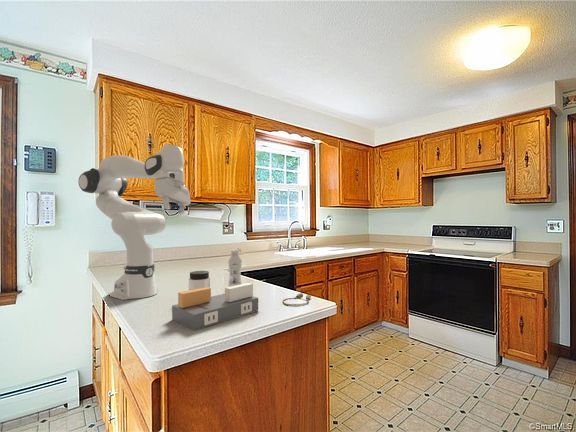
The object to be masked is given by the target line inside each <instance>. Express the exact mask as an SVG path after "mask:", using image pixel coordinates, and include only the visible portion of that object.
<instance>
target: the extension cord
mask: <svg viewBox="0 0 576 432" xmlns="http://www.w3.org/2000/svg"><path fill="white" fill-rule="evenodd" d="M302 297H304V293H297V294H296V296H294V297H290V298H284V299H283V300H282V304H283V305H285V306H288V307H301V306H307V305H309V304H310V302H309V301H310V300H311V297H312V296H311V295H310V294H306V295H305V299H304V298H302ZM286 300H287V301H288V300H302V301H305V302H304V303H286V302H285V301H286Z"/></svg>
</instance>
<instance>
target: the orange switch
mask: <svg viewBox="0 0 576 432" xmlns="http://www.w3.org/2000/svg"><path fill="white" fill-rule="evenodd" d="M177 294H178V295H177V298H178V299H177V304H178V306H179V307H181V308H185V307H189V306H193V305H197V304H202V303H206V302H210V301H211V297H212V288H211V287H210V288H208V287H205V288H199V289H194V290H189V289H188V290H185V291H180V292H177Z"/></svg>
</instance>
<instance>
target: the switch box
mask: <svg viewBox="0 0 576 432" xmlns="http://www.w3.org/2000/svg"><path fill="white" fill-rule="evenodd" d="M258 311H259V297H257V296H254V295H253V296H251V297H247V298H243V299H240V300H236V301H232V302H228V301H225V293H221V294H216V295H211V301H210V302H206V303H202V304H197V305H193V306H189V307H185V308H181V307H179V306H178V303H177V304H173V305H171V315H172V316H171V319H172V320H173V321H174V322H176V323H178V324H180V325H182V326H184V327H186V328H188V329H190V330H192V331H197V330H200V329H204V328H206V327H210V326H214V325H217V324H220V323H224V322H226V321H231V320H232V319H233V320H234V319H237V318H240V317H242V316H246V315H249V314H252V313H256V312H258Z"/></svg>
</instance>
